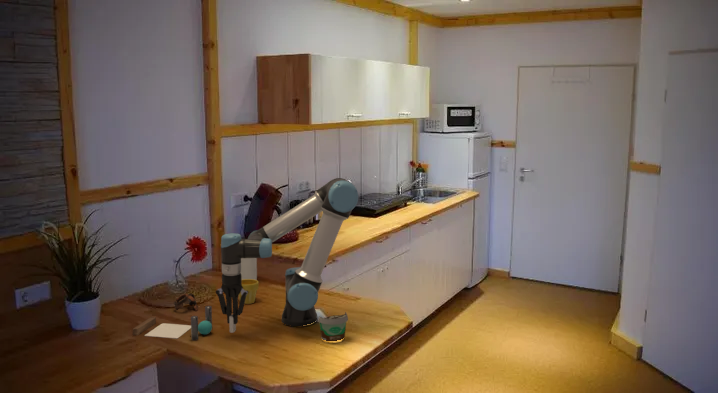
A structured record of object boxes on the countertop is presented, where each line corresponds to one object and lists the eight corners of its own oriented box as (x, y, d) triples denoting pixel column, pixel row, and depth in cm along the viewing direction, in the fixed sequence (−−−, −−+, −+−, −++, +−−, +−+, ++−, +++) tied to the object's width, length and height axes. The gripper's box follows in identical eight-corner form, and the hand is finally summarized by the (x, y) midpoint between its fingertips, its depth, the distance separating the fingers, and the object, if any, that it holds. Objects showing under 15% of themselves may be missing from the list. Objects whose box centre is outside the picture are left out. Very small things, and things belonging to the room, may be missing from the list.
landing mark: (193, 326, 242) (193, 325, 242) (177, 338, 228) (177, 338, 228) (162, 323, 244) (162, 323, 244) (144, 335, 231) (144, 335, 231)
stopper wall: (155, 323, 245) (155, 317, 245) (137, 335, 231) (137, 329, 231) (151, 322, 245) (151, 317, 245) (132, 334, 232) (132, 328, 231)
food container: (324, 346, 222) (324, 321, 220) (317, 341, 227) (317, 316, 226) (353, 341, 227) (353, 316, 226) (346, 336, 233) (346, 311, 231)
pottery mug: (196, 314, 258) (185, 300, 255) (178, 322, 260) (168, 307, 257) (204, 299, 269) (194, 285, 266) (187, 307, 271) (177, 293, 268)
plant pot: (254, 297, 281) (253, 277, 280) (262, 303, 273) (261, 282, 271) (233, 300, 276) (232, 280, 275) (240, 306, 267) (240, 285, 266)
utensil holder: (224, 285, 300) (223, 252, 298) (234, 278, 314) (234, 246, 312) (251, 287, 298) (251, 253, 295) (261, 279, 312) (260, 247, 310)
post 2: (213, 327, 241) (212, 306, 240) (210, 329, 238) (209, 308, 237) (207, 326, 241) (206, 305, 240) (204, 328, 239) (203, 307, 238)
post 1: (199, 338, 229) (198, 316, 228) (196, 340, 226) (195, 318, 225) (193, 337, 229) (192, 315, 228) (190, 340, 227) (189, 317, 225)
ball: (204, 333, 236) (216, 329, 235) (198, 338, 231) (210, 334, 230) (199, 320, 236) (211, 317, 235) (193, 325, 230) (205, 321, 229)
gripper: (211, 274, 226) (213, 333, 229) (243, 276, 223) (244, 336, 226) (219, 269, 233) (221, 326, 236) (250, 271, 231) (251, 329, 234)
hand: (232, 331), depth 231 cm, fingers closed
